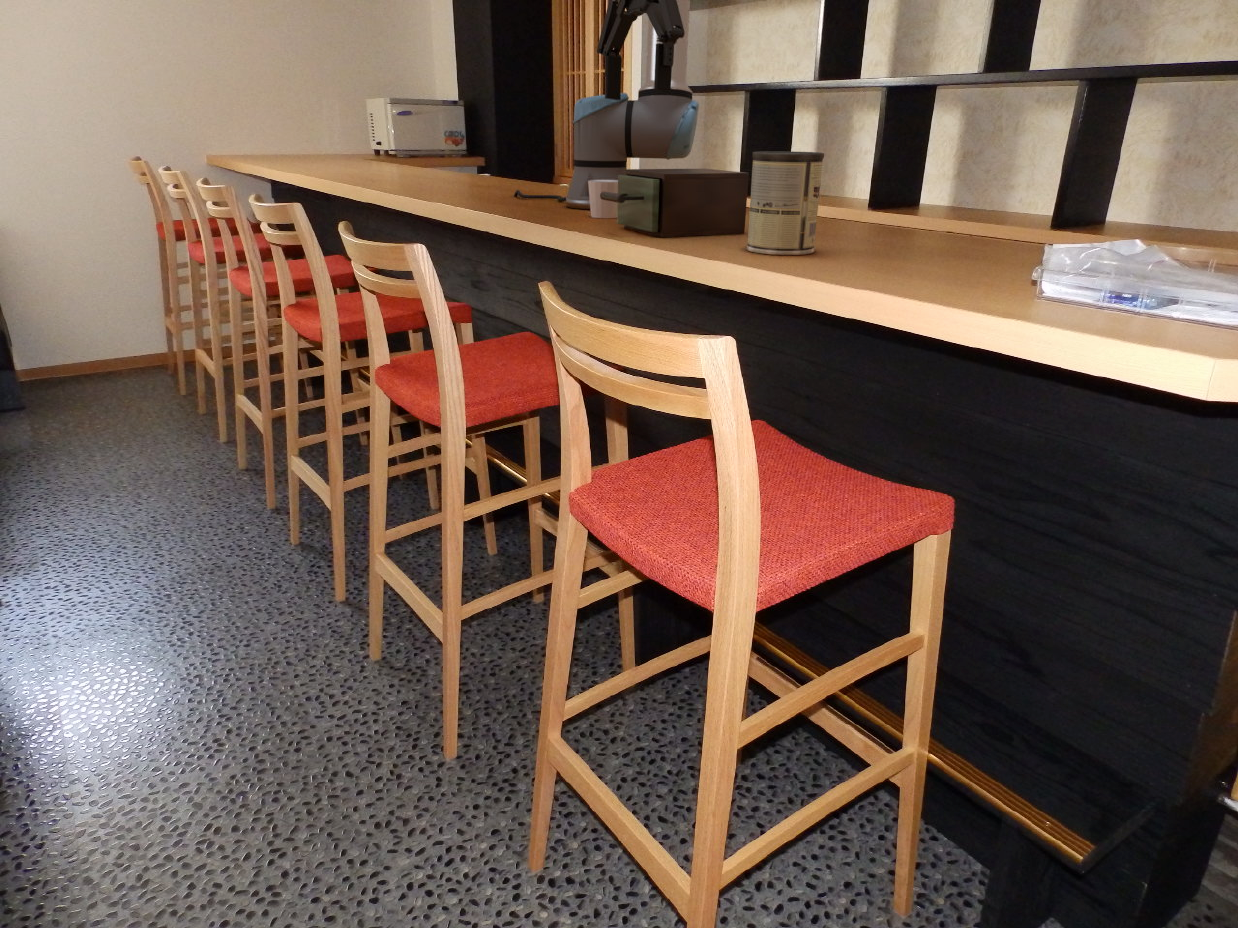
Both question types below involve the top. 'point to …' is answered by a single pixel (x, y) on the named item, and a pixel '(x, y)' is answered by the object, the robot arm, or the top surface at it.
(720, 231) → the cabinet
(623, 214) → the drawer
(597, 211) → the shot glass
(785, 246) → the coffee can
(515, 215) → the top surface
